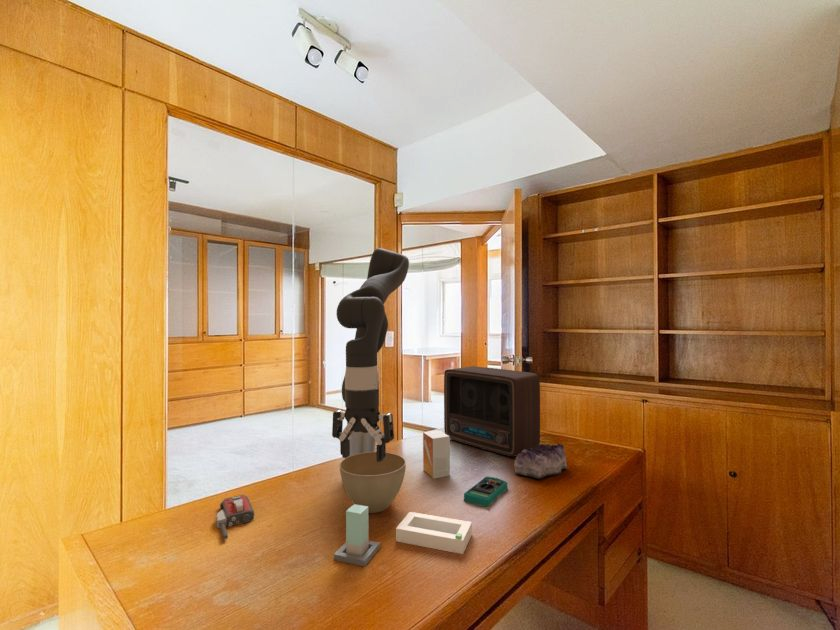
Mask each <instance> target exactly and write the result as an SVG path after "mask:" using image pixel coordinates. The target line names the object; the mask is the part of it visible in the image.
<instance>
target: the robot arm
mask: <svg viewBox="0 0 840 630" xmlns="http://www.w3.org/2000/svg"><path fill="white" fill-rule="evenodd" d="M371 254H372V255H371V256H370V260H369V266H368V271H367V275H366V276H367V277H366V280H365V281H364V282H363V283H362V284H361V286H360V287H359V288H358V289H356V290H354V291H352V292H350V293H348V294H347V295H345V296H344V297H343V298H342V299H341V300H340V301H339V303H338V305H337V308H336V318H337V321H338V323H339V324H340V325H341V327H343V328H345V329H355V336H354V339H351V340H347V342H346V345H345V373H344V376H343V380H342V384H341V397H342V398H341V399H343V402H344V404H345V405H344V407H345V411H344V410H343V409H338V410H335V411H333V412H332V425H331V427H332V428H331V429H332V431H331V436H332V437H333V438H334V439H335V438H336V439H338V441H339V443H340V444H339V445H340V446H339V449H340V451H339V452H340V455H341V457H342V458H344V459H345V458H347V457H350V456H352V455H355V454H360V453H365V452H376V456H377V462H381V461H382V460H383V459H384V458H385V456H386V450H387V449H386V448H387V447H386V445H387V444H389V443H390V442H391V441H393V440H394V439H395V431H394V430H395V429H394V417H393V413H392V412H389V413H381V412H380V410H379V408H380V379H379V378H380V377H379V370H378V369H379V368H378V367H379V366H378V353H379V352H380V350H381V349H382V347H383V346H384V343H385V340H386V336H387V332H388V329H389V320H388V317H387V313H386V311H385V310H386V309H385V303H386V302H387V299H388V297H389V296H390V295H391V294H392V293H393V292H394V291H396V290H397V289H398V288H399V287H400V286H401V285H402V284H403V283H404V281H405V279H406V277H407V275H408V271H409V266H410V260H409V258H408V256H406V255H404V254H402V253H399V252H396V251H391V250H389V249H385V248H379V247H378V248H374V250H373V252H372V253H371ZM344 419H345V420H346V423H347V424H346V425H345V427H344V428H343V426H344V425H343V424H344ZM379 421H380V422H381V424H382V425H383V429H382V427H381V425H380V424H379Z"/></svg>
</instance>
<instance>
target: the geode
mask: <svg viewBox="0 0 840 630" xmlns="http://www.w3.org/2000/svg"><path fill="white" fill-rule="evenodd" d="M513 466H514V472H515V475H519V476H525V477H530V478H534V479H543V478H544V477H547V476H554V475H555V476H557V475H560V474H562V470H567V468H568V465H567V455H566V451H565V447H564V444H563V443H557V445H556V444H553V445H551V444H550V443H548V444H543V443H540V444H539V445H538V446H536V447H534V448H531V449H530V448H529V449H527V450H526V449H524V450H522V453H519V454H518V455H517V456H515V459H514V463H513Z"/></svg>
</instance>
